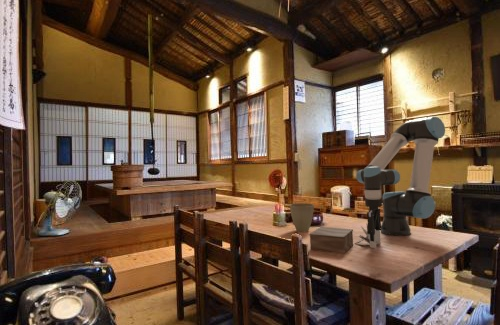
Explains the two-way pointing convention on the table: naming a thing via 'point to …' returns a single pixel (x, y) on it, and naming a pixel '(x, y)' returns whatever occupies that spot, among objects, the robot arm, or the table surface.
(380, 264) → the table surface
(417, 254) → the table surface
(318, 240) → the walnut box
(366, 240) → the origami crane
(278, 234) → the table surface
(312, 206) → the plant pot
